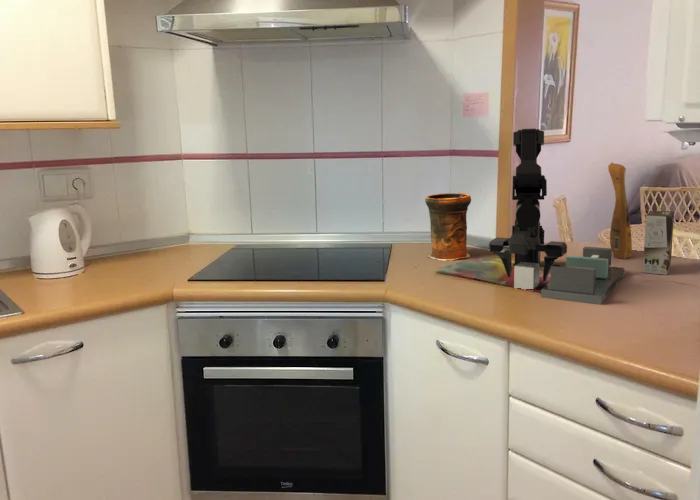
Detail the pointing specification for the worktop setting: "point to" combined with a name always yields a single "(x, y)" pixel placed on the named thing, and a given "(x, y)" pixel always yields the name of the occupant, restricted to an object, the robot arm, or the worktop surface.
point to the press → (580, 283)
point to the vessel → (448, 225)
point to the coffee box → (658, 242)
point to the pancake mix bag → (620, 215)
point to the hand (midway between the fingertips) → (526, 278)
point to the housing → (526, 275)
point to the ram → (593, 260)
